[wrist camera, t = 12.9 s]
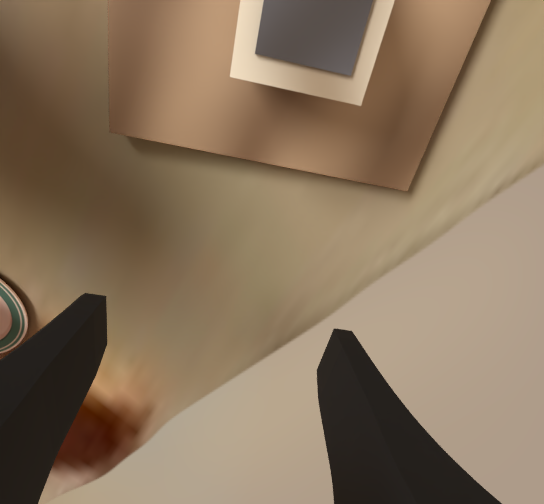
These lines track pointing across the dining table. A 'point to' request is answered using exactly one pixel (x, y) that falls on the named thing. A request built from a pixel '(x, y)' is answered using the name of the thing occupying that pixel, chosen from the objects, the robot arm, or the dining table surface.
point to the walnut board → (281, 102)
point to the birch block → (310, 45)
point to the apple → (11, 318)
